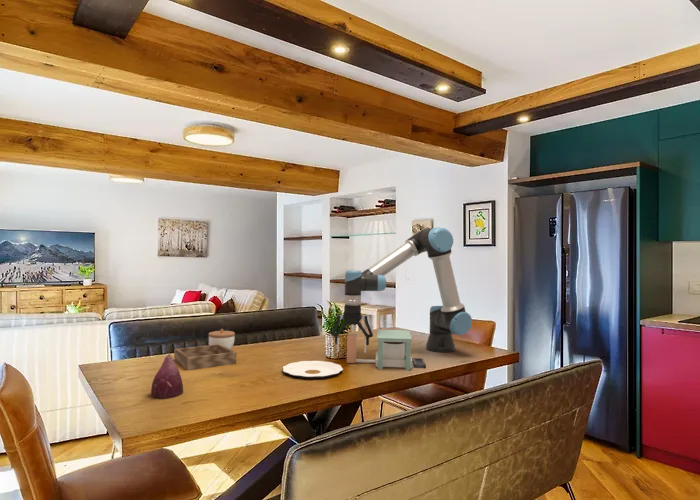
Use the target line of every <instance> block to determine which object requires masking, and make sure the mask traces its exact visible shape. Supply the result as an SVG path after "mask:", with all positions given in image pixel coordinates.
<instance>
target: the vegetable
mask: <svg viewBox="0 0 700 500" xmlns="http://www.w3.org/2000/svg"><path fill="white" fill-rule="evenodd" d="M183 393H184V384H183V380H182V375H181V373H180V370H179V368H178V366H177V364H176V363H175V360H174V357H173V356H172V355H171V353H168V354H167V355H166V356H165V357H164V360H163V362H162V364H161V366H160V368H159V369H158V370H157V372H156V374H155V376H154V377H153V380H152V384H151V390H150V396H151V397H152V398H154V399H159V400H166V399H173V398H176V397H179V396H182V395H183Z"/></svg>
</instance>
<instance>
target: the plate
mask: <svg viewBox="0 0 700 500" xmlns="http://www.w3.org/2000/svg"><path fill="white" fill-rule="evenodd" d="M343 370H344V368H343V367H342V365H341V364H338V363H335V362H331V361H324V360H302V361H301V360H300V361H296V362H290V363H288V364H286V365H284V366H283V367H282V372H283V373H285V374H288V375H290V376H293V377H295V378H303V379H322V378H328V377H332V376H335V375H337V374H340V373H341V372H343ZM307 371H319V372H318V373H307Z"/></svg>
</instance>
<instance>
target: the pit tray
mask: <svg viewBox="0 0 700 500" xmlns="http://www.w3.org/2000/svg"><path fill="white" fill-rule="evenodd" d="M411 358H412V366H413V368H414V369H427V368H426V366H427V364H426V362H425V360H424V358H421V357H411Z"/></svg>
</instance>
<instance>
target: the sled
mask: <svg viewBox="0 0 700 500" xmlns="http://www.w3.org/2000/svg"><path fill="white" fill-rule="evenodd" d="M346 337H347V339H346V342H347V343H346V363H347V364H356V363H370V364H371V363H375V367H377V368H378V351H375V359H364V358H363V359H362V358H357V352H358V351H357V349H358V348H357V346H358V345H357V344H358V342H357V341H358V340H357V339H358V338H357V337H358V334H357V333H348V334H347V336H346ZM412 358H413V357H411V363H410V369H412V368H413V362H412ZM405 366H406V353H405V360H395V359H383V366H382V368H405Z"/></svg>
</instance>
